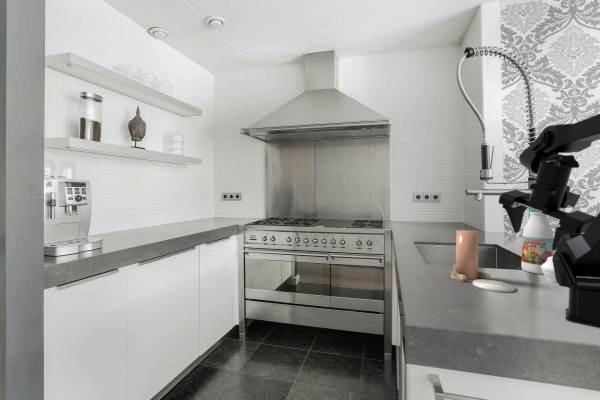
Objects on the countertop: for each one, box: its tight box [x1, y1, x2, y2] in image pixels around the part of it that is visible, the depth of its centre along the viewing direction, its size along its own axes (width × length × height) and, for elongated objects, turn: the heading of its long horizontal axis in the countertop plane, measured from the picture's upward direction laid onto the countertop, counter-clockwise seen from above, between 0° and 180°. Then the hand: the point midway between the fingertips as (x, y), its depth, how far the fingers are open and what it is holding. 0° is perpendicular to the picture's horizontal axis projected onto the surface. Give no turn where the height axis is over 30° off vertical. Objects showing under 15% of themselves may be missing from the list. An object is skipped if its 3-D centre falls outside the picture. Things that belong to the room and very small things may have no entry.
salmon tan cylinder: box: [455, 229, 479, 281], centre depth 86 cm, size 6×6×13 cm
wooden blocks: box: [450, 262, 491, 283], centre depth 87 cm, size 8×9×3 cm
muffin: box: [541, 256, 558, 284], centre depth 83 cm, size 6×6×7 cm
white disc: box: [472, 278, 516, 293], centre depth 78 cm, size 9×9×1 cm
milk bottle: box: [520, 208, 555, 275], centre depth 94 cm, size 8×8×20 cm
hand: (534, 240), depth 75 cm, fingers open, 9 cm apart
